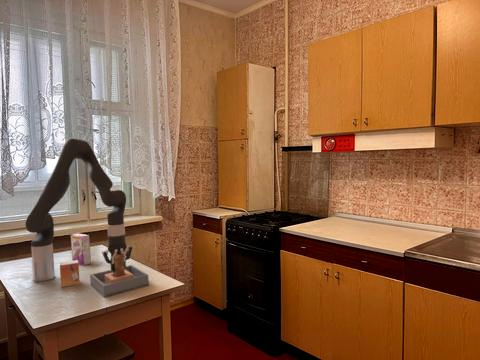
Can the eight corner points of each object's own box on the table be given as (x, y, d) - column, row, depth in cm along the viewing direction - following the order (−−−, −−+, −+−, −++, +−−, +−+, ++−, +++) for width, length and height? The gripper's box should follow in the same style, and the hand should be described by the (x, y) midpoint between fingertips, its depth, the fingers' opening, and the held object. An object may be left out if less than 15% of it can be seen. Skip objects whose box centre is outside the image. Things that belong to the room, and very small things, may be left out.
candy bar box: (71, 263, 197) (70, 234, 196) (79, 260, 201) (78, 233, 200) (83, 265, 191) (81, 236, 190) (91, 263, 195) (89, 234, 194)
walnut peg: (116, 281, 157) (114, 255, 156) (113, 279, 160) (111, 253, 159) (124, 279, 159) (123, 253, 158) (121, 276, 162) (120, 252, 161)
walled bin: (104, 297, 146) (103, 286, 145) (90, 284, 161) (90, 274, 161) (148, 285, 158) (148, 274, 158) (132, 274, 174) (131, 264, 173)
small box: (60, 287, 159) (59, 265, 158) (60, 284, 164) (59, 262, 163) (80, 284, 162) (78, 262, 162) (79, 280, 167) (78, 259, 167)
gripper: (128, 230, 165) (130, 265, 166) (98, 235, 156) (100, 271, 158) (134, 232, 159) (136, 268, 161) (103, 237, 151) (105, 275, 152)
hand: (118, 270), depth 159 cm, fingers closed on walnut peg, 3 cm apart
